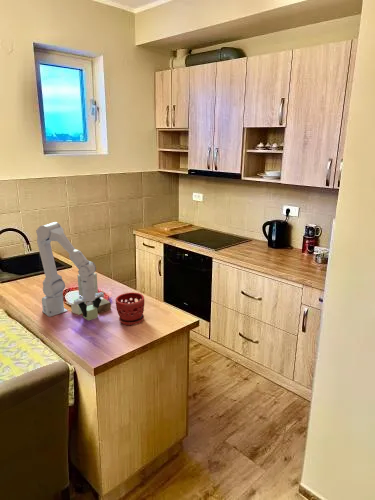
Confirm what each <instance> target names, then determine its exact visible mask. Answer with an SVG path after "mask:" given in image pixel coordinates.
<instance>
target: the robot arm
mask: <svg viewBox="0 0 375 500" xmlns="http://www.w3.org/2000/svg"><path fill="white" fill-rule="evenodd" d="M35 233H36V236H37V237H36V243H37V247H38V251H39V257H40V259H41V264H42V268H43V272H44V275H45V277H44V280H43V281H42V293H43V294H44V295H45V296H43V297H42V298H41V306H42V313H43V314H45V315H46V316H47V317H53V316H56V315H57V316H58V315H59V314H62V313H65V312H68V309H66V308H65V303H64V295H63V293H64V290H65V288H66V283H65V281H64V280H63V277H62V275H60V274H58V270H57V267H56V261H55V259H54V253H53V250H52V249H53V248H52V245H51V243H52V242H56V243H58V244H60V246H61V247H62V248H63V249H64V250H65V251H66V252H67V253H68V254H69V255H68V259H69V260H71V263H72V264H74V265H75V266H76V268H77V272H78V275H80V276H81V280H82V293H83V296H82V297H79V298H77V299H75V300H73V302H74V304H75V305H79V307H80V309H81V311H82V317H83V316H84V317H87V312H86V310H87V306H88V305H87V302H92V305H93V306H95V307H96V308H97V312H98V307H99V305H100V303H101V298H104V297H105V295H104V292H98V293H95V283H94V274H93V273H96V270H97V266H96V264H95V262H93V261H90V260H88V259H87V257H86V256H85V255H84V253H83V252H82V251H81V250H79V249H76V248H75V247H74V245H73V243H71V241H70V240H69V238H68V237H67V235H66V234H65V232H64V228H63V227H62V226H61V224H60V223H59V222H57V221H53V222H50V223H46V224H43V225H40V226H39V227H38V228H37V229H36V232H35ZM85 302H86V304H85ZM84 317H83V318H84Z"/></svg>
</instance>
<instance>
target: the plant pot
mask: <svg viewBox="0 0 375 500" xmlns="http://www.w3.org/2000/svg"><path fill="white" fill-rule="evenodd" d="M136 299H137V301H136ZM115 306H116V311H117V314H118V316H119V317H118V319H119V322H120V323H121V324H122V325H126V326H135V325H137V324H138V325H139V324H140V323H142V321H144V319H145V315H144V311H145V296H144V295H143V294H142V293H139V292H126V293H122V294H119V295H118V296H117V297H116V298H115Z"/></svg>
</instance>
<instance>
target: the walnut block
mask: <svg viewBox="0 0 375 500" xmlns="http://www.w3.org/2000/svg"><path fill="white" fill-rule="evenodd" d="M100 299H101V298H100ZM111 306H112V305H111V302H110V301H109V300H108V299H106V298H102V299H101V303H100V305H99V307H98V311H97V312H98V313H103V312H106V311H110V310H111Z"/></svg>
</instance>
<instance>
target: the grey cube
mask: <svg viewBox="0 0 375 500" xmlns="http://www.w3.org/2000/svg"><path fill="white" fill-rule="evenodd" d="M85 304H86V305H87V302H85ZM70 306H71V313H73V314H76V315H79V316H80V315H83V313H82V311H81V309H80V307H79V305H75V304H74V301H73V302H71V305H70Z"/></svg>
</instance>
